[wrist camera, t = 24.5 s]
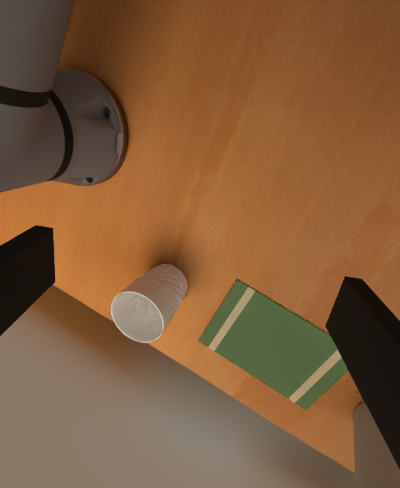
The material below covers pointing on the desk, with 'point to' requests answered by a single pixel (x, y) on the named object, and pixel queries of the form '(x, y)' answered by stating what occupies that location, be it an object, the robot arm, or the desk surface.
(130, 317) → the white cup
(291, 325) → the cloth
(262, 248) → the desk surface
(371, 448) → the coffee cup
